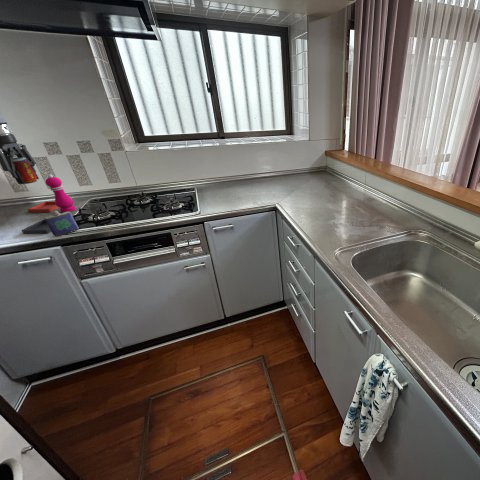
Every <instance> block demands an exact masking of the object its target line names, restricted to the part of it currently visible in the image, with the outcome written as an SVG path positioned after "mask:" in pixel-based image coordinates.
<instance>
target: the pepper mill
mask: <svg viewBox="0 0 480 480" xmlns="http://www.w3.org/2000/svg"><path fill="white" fill-rule="evenodd" d="M47 176H48V177H47V178H46V179H45V185H46V186H47V187H49V189H50V191H52V193H53V195H54V201H55V203H56V206H58V207H60V208H59V210H60V212H61V213H64V212H70V213H71V212H74V211H75V210H77V209H76V206H75V205H74V204H75V201H74V200H73V199H72V198H71V196H69V195H68V194H67V193H66V192H65V191H64V186H63V185H62V183H63V181H62V180H61V179H60V177H56V176H54V175H53V174H48V175H47Z"/></svg>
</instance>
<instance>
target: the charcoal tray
mask: <svg viewBox="0 0 480 480" xmlns="http://www.w3.org/2000/svg"><path fill="white" fill-rule="evenodd" d="M21 232H22V234H23V235H35V234H37V235H39V234H43V235H44V234H45V235H46V234H49V233H52V231H51V230H50V228H49V226H48V225H47V223H46V221H45V219H40V220H39V221H37V222H35V223H32V224H31V225H29V226H27V227H25V228H23V229H21Z"/></svg>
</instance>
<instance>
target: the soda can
mask: <svg viewBox="0 0 480 480" xmlns="http://www.w3.org/2000/svg"><path fill="white" fill-rule="evenodd" d="M13 163H14V165H15V171H18V172H19V174H20V175H21V177H22V179H23V181H24V182H25V184H24V185H28V184H34V183H37V182H38V179H37V177H36V175H35V173H34V171H33V170H32V168H31V166H30V164H29V162H28V161H27V159H26V158H24V157H17V156H16V157H13Z"/></svg>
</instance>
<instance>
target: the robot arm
mask: <svg viewBox="0 0 480 480" xmlns="http://www.w3.org/2000/svg"><path fill="white" fill-rule="evenodd" d="M12 133H13V131H12V129H11V127H10V126H9V124H8V123H7V121H6V119H5V117H4V115H3V113H2V111H1V110H0V166H1V168H2V171H3V172H6V173H7V172H9V174H10V175H11V176H12V178H13V179H15V181H16V182H17V184H18V185H26V184H25V182H24V181H23V179H22V177H21V175H20V174H19V172H18V171H15V165H14V163H13V158H15V156H16V157H24V158H26V159H27V161H28V162H29V164H30V166H31V168H32V170H33V171H34V173H35V175H36V177H37V180H39V179H40V177H39V176H38V174H37V170H36V168H35V166H36V165H37V162H36V161H35V160H34V158H33V156H32V155H31V154H30V153H31V152H29V151H28V149H27V146H26V145H25V144H19V143H18V140H17V138H16V136H15V134H12Z"/></svg>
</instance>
